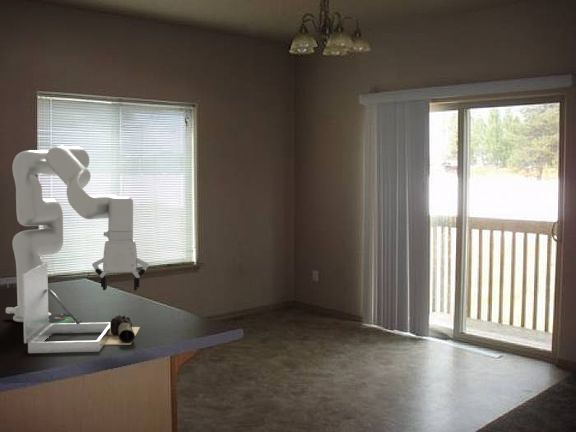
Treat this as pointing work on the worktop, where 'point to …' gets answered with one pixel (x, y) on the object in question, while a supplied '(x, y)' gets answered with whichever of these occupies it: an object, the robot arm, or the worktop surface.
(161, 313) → the worktop surface
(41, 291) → the case
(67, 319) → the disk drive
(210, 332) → the worktop surface
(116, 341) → the pad
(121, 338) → the dark piece
